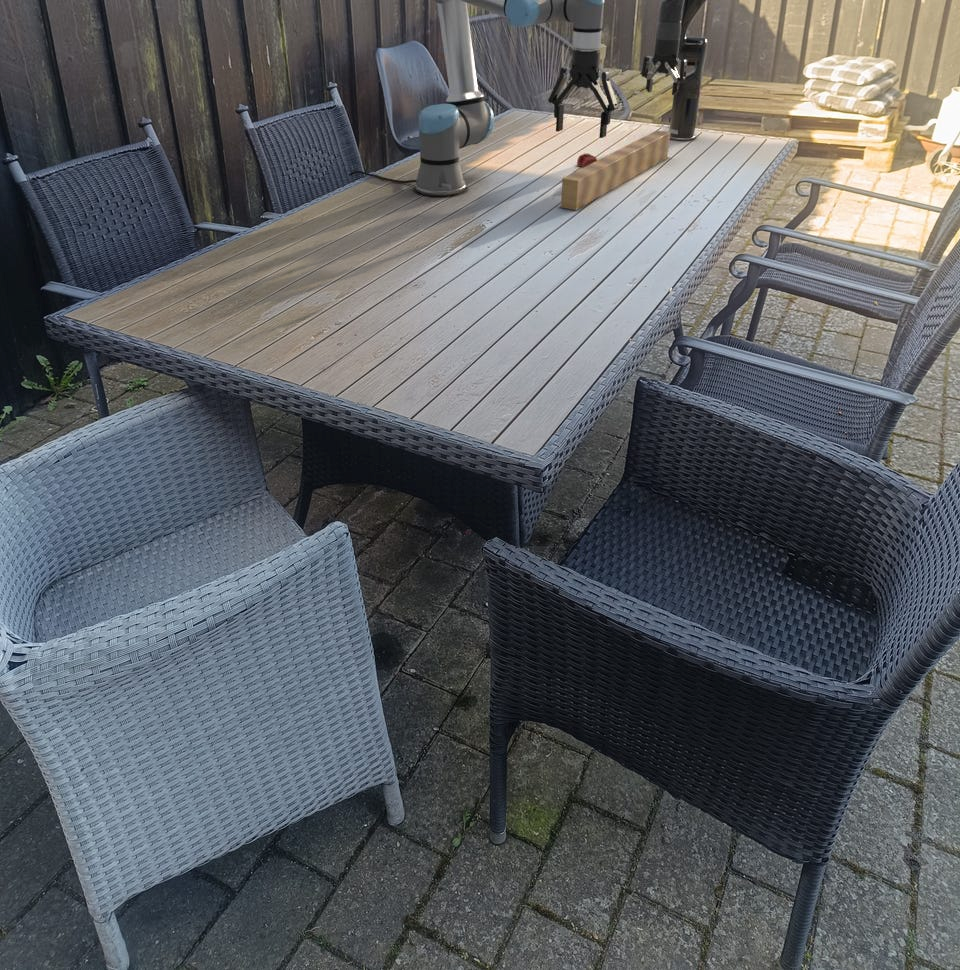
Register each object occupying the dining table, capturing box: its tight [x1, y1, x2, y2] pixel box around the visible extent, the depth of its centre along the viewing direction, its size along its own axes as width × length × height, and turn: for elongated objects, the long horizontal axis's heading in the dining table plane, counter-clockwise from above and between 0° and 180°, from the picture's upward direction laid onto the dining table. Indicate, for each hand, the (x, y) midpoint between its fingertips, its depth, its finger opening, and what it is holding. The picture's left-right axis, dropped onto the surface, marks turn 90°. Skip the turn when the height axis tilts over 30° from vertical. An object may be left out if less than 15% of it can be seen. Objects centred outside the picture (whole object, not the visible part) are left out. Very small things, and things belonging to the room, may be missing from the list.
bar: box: [560, 129, 671, 211], centre depth 264 cm, size 68×5×8 cm, turn 147°
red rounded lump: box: [576, 152, 598, 169], centre depth 277 cm, size 6×4×8 cm
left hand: (580, 133), depth 235 cm, fingers open, 13 cm apart
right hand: (661, 93), depth 273 cm, fingers open, 8 cm apart
